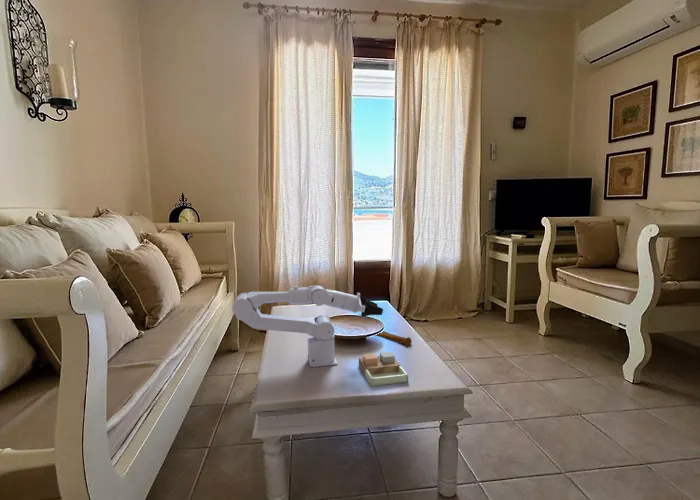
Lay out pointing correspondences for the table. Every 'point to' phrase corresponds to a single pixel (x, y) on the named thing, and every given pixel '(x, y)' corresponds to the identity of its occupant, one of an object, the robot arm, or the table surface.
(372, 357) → the terracotta tile
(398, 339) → the primitive tool
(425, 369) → the table surface
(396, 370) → the walnut board
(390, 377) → the tray
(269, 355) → the table surface
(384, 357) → the slate tile
